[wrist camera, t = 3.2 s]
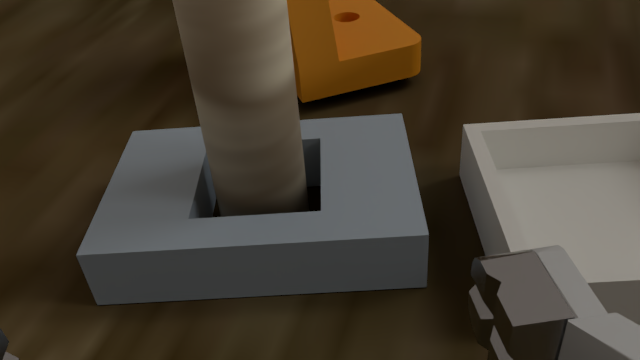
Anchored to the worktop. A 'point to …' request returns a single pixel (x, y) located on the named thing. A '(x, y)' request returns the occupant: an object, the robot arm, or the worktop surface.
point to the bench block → (259, 221)
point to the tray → (562, 195)
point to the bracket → (348, 46)
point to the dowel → (246, 102)
